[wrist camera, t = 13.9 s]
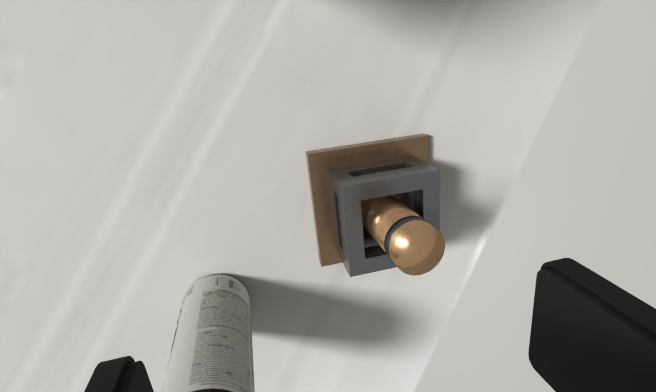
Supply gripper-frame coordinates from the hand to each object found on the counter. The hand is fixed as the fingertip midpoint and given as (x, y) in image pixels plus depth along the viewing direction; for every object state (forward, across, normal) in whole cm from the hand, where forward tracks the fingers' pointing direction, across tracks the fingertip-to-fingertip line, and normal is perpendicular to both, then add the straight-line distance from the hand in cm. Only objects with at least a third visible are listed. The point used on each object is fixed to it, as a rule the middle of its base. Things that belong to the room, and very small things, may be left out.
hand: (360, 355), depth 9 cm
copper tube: (+27, -9, +8) cm, 30 cm away
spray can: (+28, +8, +16) cm, 34 cm away
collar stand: (+28, -9, +8) cm, 31 cm away
